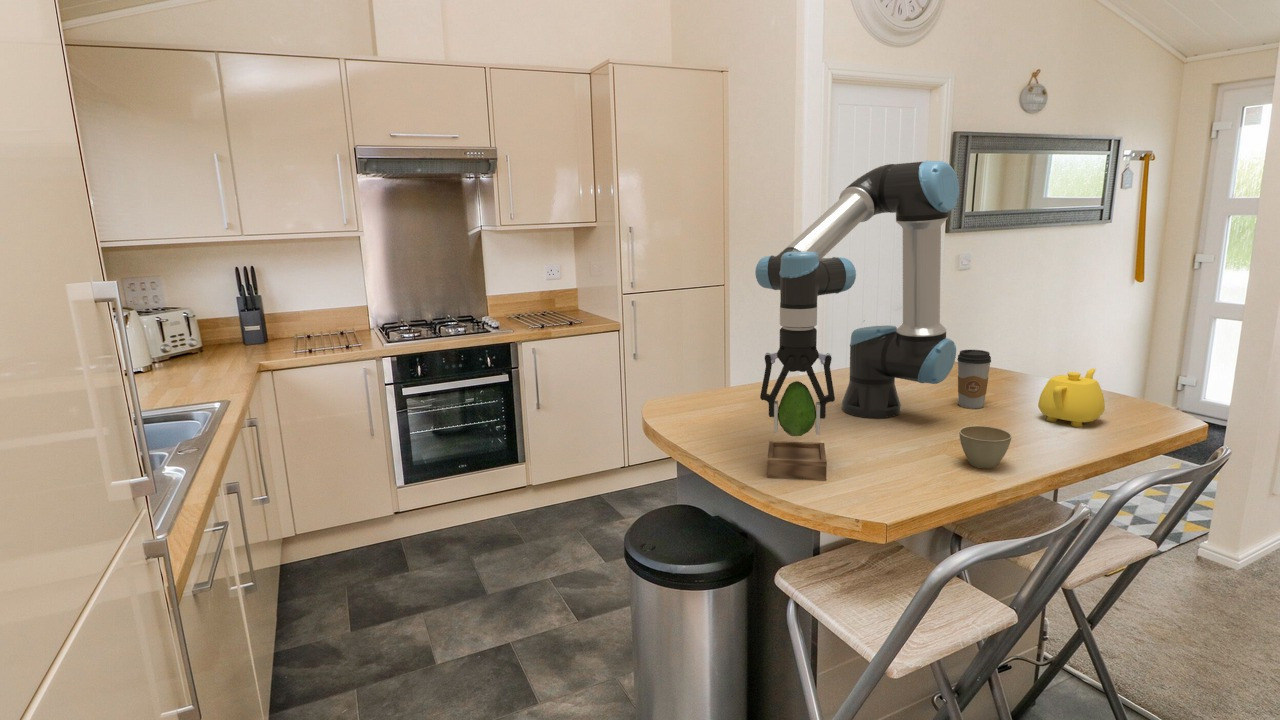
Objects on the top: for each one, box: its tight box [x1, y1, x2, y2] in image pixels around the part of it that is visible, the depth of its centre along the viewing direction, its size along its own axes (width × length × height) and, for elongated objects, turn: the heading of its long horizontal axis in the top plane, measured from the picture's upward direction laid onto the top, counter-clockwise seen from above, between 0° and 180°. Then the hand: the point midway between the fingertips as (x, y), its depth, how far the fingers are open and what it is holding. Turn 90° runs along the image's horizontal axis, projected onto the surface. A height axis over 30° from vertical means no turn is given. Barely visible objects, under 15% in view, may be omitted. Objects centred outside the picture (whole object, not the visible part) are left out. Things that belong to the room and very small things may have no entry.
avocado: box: [778, 380, 816, 437], centre depth 148 cm, size 8×8×12 cm
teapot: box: [1037, 367, 1106, 428], centre depth 175 cm, size 13×20×12 cm
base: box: [766, 440, 828, 481], centre depth 150 cm, size 12×12×4 cm
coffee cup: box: [956, 349, 992, 410], centre depth 190 cm, size 8×8×15 cm
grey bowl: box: [958, 425, 1012, 469], centre depth 149 cm, size 10×10×7 cm
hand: (796, 431), depth 149 cm, fingers closed on avocado, 8 cm apart
